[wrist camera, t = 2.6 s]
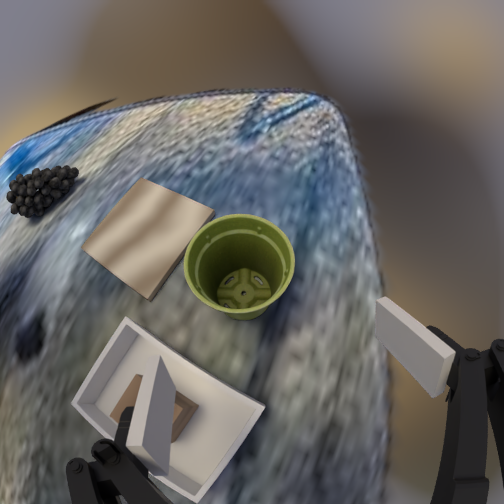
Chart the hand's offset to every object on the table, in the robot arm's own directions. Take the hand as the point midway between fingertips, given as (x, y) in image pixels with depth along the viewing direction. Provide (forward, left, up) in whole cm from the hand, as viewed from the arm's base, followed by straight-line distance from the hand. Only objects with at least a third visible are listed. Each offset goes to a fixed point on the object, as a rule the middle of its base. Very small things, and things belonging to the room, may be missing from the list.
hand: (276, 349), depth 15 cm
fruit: (-45, +2, -14) cm, 48 cm away
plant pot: (-6, +6, -14) cm, 16 cm away
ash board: (-22, +6, -13) cm, 27 cm away
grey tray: (-6, -10, -13) cm, 18 cm away
